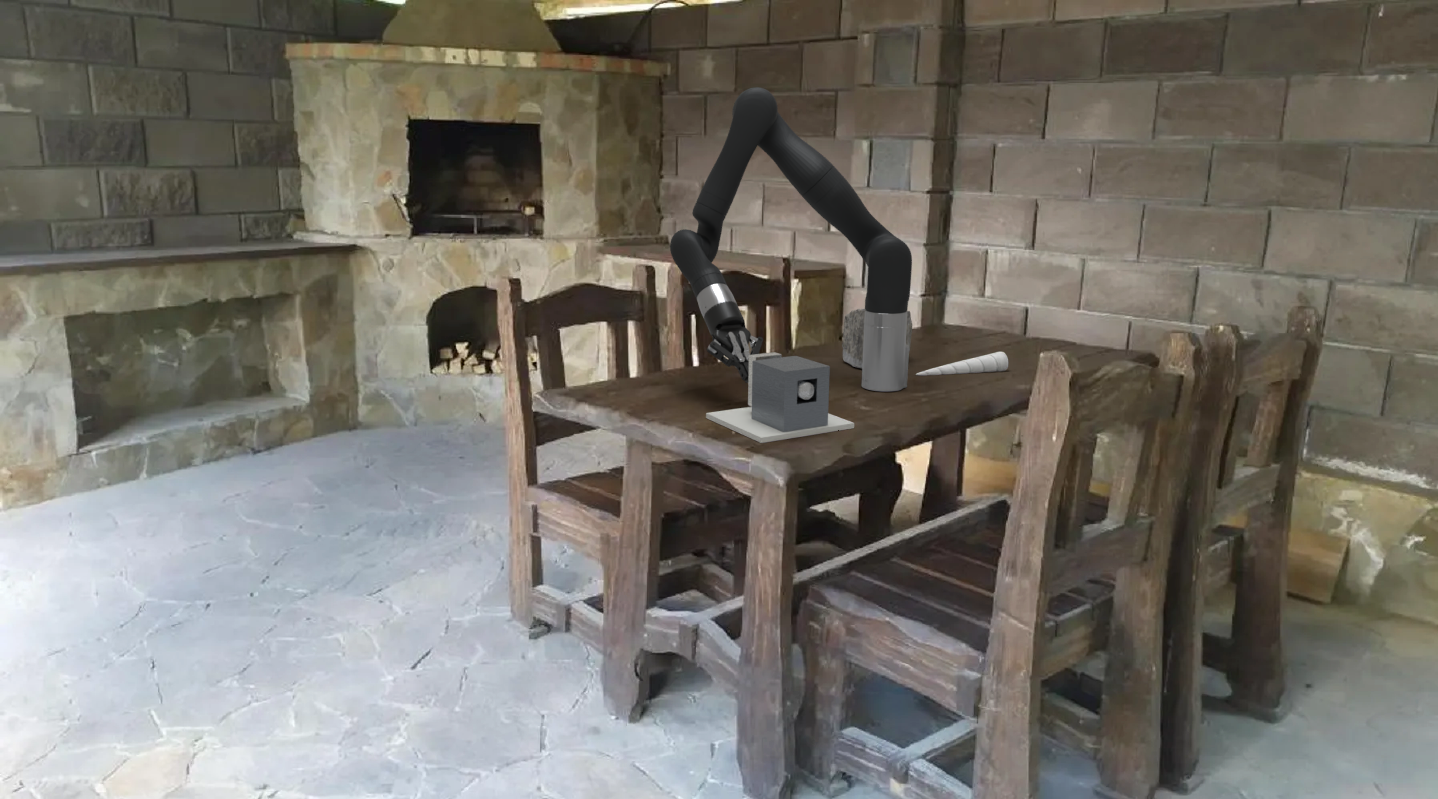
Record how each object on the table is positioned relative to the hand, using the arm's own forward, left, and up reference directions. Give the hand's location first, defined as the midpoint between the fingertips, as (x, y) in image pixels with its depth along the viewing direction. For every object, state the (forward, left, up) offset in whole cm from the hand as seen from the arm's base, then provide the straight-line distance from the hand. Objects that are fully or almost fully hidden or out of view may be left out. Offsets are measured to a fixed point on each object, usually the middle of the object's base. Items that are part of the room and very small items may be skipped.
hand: (751, 380), depth 206 cm
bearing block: (0, +14, -5) cm, 15 cm away
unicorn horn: (-64, -7, -7) cm, 65 cm away
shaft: (0, +11, -4) cm, 12 cm away
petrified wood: (-53, -25, -7) cm, 59 cm away
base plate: (0, +10, -6) cm, 12 cm away
